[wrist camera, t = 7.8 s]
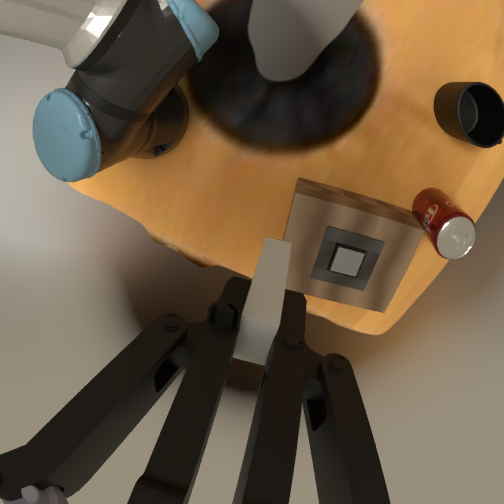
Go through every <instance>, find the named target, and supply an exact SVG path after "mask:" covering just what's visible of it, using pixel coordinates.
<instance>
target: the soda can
mask: <svg viewBox="0 0 504 504" xmlns="http://www.w3.org/2000/svg"><path fill="white" fill-rule="evenodd" d="M412 211H413V215H414V217H415V218H416V220H417V221H418V222H419V224H420V225H421V227H422V228H423V229H424V234H425V235H426V237H427V238H428V240H429V241H430V243H431V244H432V246H433V247H434V249H435V250H436V252H437V253H438V254H439V255H440V256H441V257H443V258H445V259H450V260H451V259H457V258H460V257H462V256H464V255H465V254H466V253H467V252H468V251H469V250H470V249H471V247H472V245H473V243H474V240H475V236H476V228H475V224H474V222H473V220H472V219H471V217H470V216H469V215H468V214H466V213H465V212H464V211H463V210H462V209H461V208H460V207H459V206H458V205H457V204H456V203H455V202H454V201H452V200H451V199H450V198H449V197H448V196H447V195H446V194H445V193H443V192H442V191H441V190H438V189H435V188H430V189H426V190H424V191H422V192H421V193H420V194H419V195H418V196H417V197H416V199H415V201H414V203H413V210H412Z"/></svg>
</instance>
